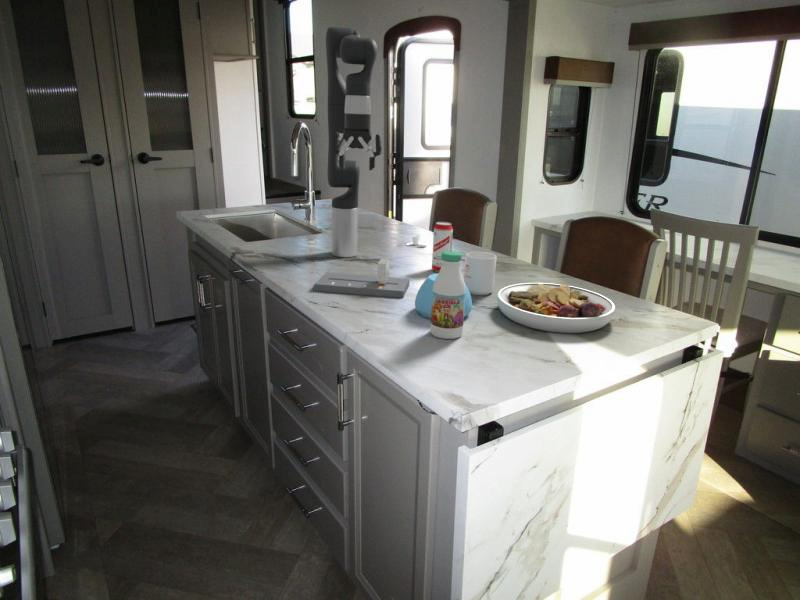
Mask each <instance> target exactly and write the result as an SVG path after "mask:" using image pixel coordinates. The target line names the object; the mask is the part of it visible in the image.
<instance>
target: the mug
mask: <svg viewBox="0 0 800 600" xmlns="http://www.w3.org/2000/svg"><path fill="white" fill-rule="evenodd" d="M464 257H465V261H464V275H463V279H464V282H465V284H466V286H467V288H468V290H469V292H470V295H474V296H487V295H489V294H491V293H492V292H493V291H494V287H495V279H496V278H495V277H496V267H497V258H498V257H497V255H496V254H494V253H491V252H487V251H470V252H467V253H466V254H465V256H464Z"/></svg>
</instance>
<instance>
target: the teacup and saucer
mask: <svg viewBox="0 0 800 600" xmlns="http://www.w3.org/2000/svg"><path fill="white" fill-rule="evenodd" d="M411 240H412V242H408V243H406V244H405V245H406V246H407V247H411V248H414V247H417V248H425V247H427V246H428V244H427V243H425V242H422V243H421V235H412V236H411Z"/></svg>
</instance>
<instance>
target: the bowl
mask: <svg viewBox="0 0 800 600" xmlns="http://www.w3.org/2000/svg"><path fill="white" fill-rule="evenodd" d="M497 306H498V308H499V309H500V311H501V312H502V313H503V315H505V316H506V317H507V318H508V319H510V320H512V321H513V322H514V323H518V324H520V325H521V326H525V327H526V328H527V327H528V328H531V329H535V330H540V331H544V332H551V333H559V334H561V333H562V334H579V333H581V334H582V333H588V332H592V331H597V330H599V329H601V328H603V327H605V326H606V325H608V324H609V323H610V322H611V320H612V319H613V317H614V314H615V311H616V305H615V303H614V302H613V301H612V300H611V299H610V298H608V297H606V296H604V295H602V294H600V293H598V292H595V291H592V290H588V289H585V288H581V287H577V286H572V285H568V284H560V283H558V284H557V283H550V282H549V283H548V282H547V283H546V282H525V283H524V282H523V283H515V284H511V285H508V286H507V285H506V286H505V287H502V288H501V289H499V290H498V292H497Z"/></svg>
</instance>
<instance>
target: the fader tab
mask: <svg viewBox="0 0 800 600" xmlns="http://www.w3.org/2000/svg"><path fill="white" fill-rule="evenodd" d="M376 276H377V281H378V284H386V282H387V280H388V277H390V258H380V260H379V261H378V263H377V275H376Z"/></svg>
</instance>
